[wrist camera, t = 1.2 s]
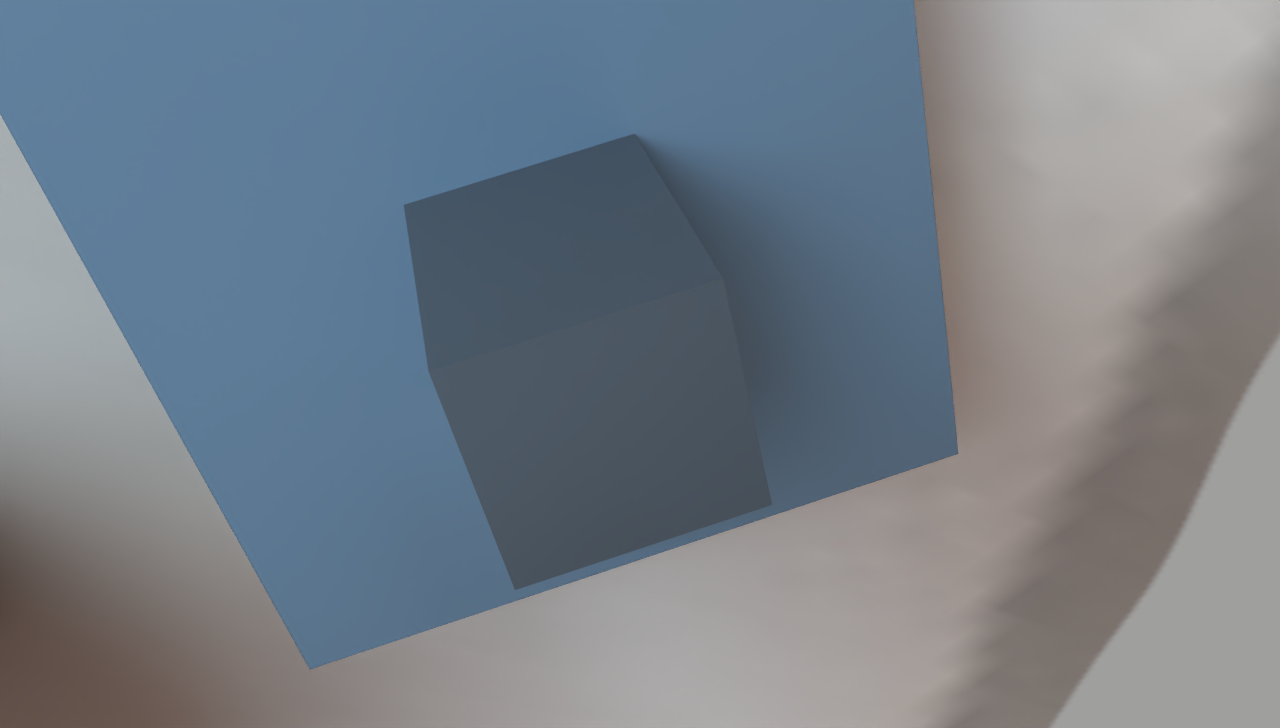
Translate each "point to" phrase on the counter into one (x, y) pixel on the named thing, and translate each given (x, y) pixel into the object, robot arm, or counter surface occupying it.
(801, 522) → the counter surface
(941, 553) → the counter surface
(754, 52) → the lid
